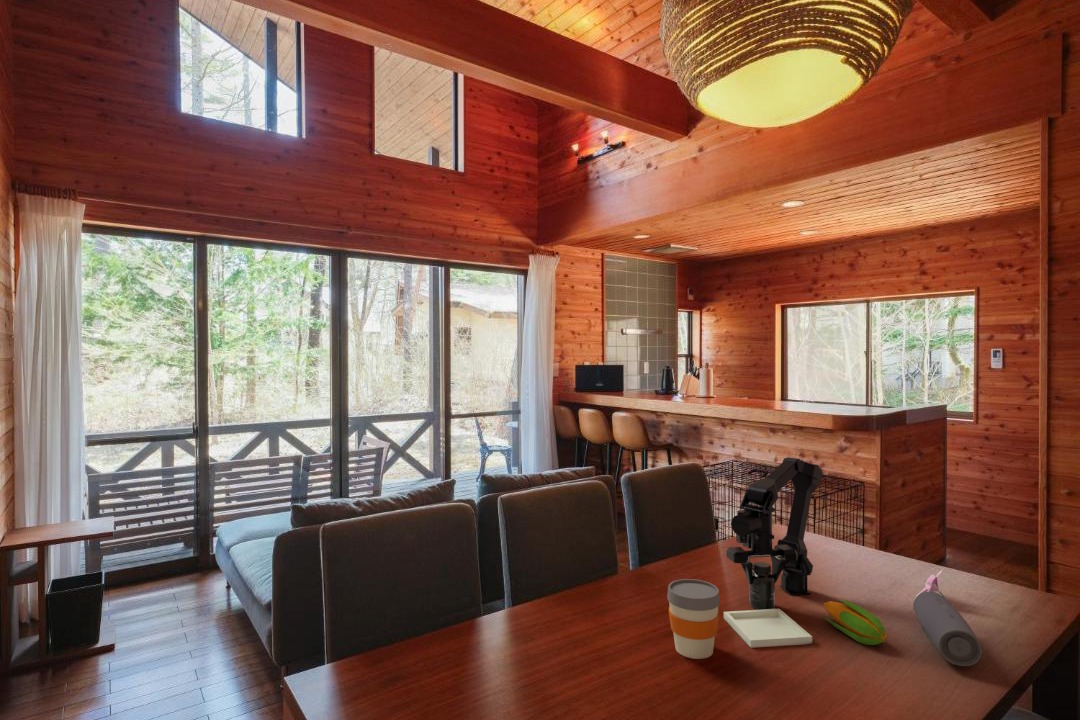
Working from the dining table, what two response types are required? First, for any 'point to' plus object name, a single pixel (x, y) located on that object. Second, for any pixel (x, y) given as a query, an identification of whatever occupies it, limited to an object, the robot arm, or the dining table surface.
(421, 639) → the dining table surface
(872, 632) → the corn
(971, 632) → the bluetooth speaker
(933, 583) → the lily
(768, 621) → the tray
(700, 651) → the reusable coffee cup
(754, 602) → the supplement bottle
